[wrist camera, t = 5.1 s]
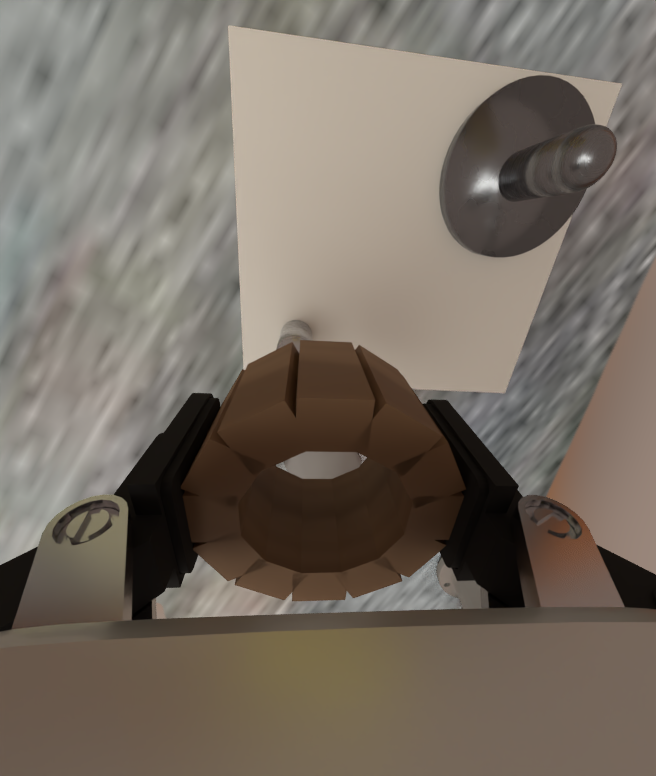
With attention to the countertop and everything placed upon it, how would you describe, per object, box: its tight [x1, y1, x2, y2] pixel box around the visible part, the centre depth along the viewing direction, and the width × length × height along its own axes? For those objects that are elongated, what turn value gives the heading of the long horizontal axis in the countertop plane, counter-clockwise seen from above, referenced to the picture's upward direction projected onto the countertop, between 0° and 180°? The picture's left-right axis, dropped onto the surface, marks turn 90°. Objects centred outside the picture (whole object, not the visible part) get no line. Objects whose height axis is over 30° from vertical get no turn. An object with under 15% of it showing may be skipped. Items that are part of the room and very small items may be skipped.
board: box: [228, 25, 622, 393], centre depth 22 cm, size 20×22×2 cm
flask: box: [284, 452, 361, 479], centre depth 26 cm, size 7×7×10 cm
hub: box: [439, 75, 617, 258], centre depth 16 cm, size 9×9×7 cm
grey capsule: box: [276, 320, 313, 352], centre depth 21 cm, size 2×2×4 cm
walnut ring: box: [181, 340, 466, 601], centre depth 9 cm, size 6×6×4 cm
